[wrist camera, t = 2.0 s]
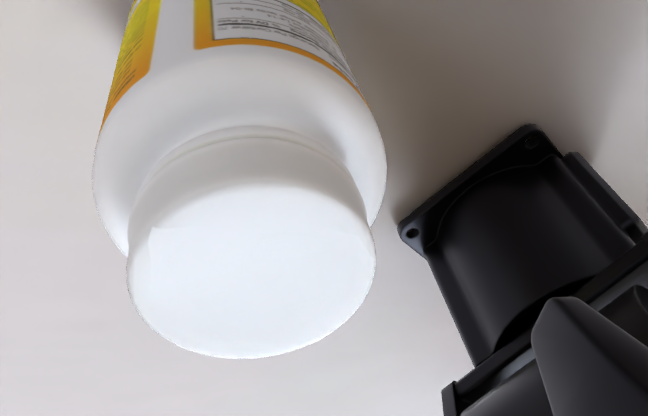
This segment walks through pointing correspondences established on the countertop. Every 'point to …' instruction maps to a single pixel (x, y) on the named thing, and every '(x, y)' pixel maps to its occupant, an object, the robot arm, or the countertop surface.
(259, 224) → the supplement bottle
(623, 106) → the countertop surface
